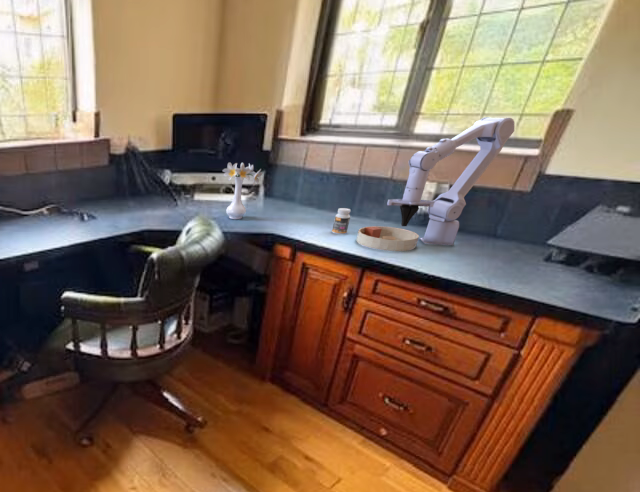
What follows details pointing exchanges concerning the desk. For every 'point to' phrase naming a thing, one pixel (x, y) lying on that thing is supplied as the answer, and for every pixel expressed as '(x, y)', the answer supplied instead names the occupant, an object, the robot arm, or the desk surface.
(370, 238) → the bowl
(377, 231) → the terracotta block
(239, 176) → the flower vase
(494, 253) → the desk surface
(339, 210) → the pill bottle
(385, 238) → the beech block
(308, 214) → the desk surface
